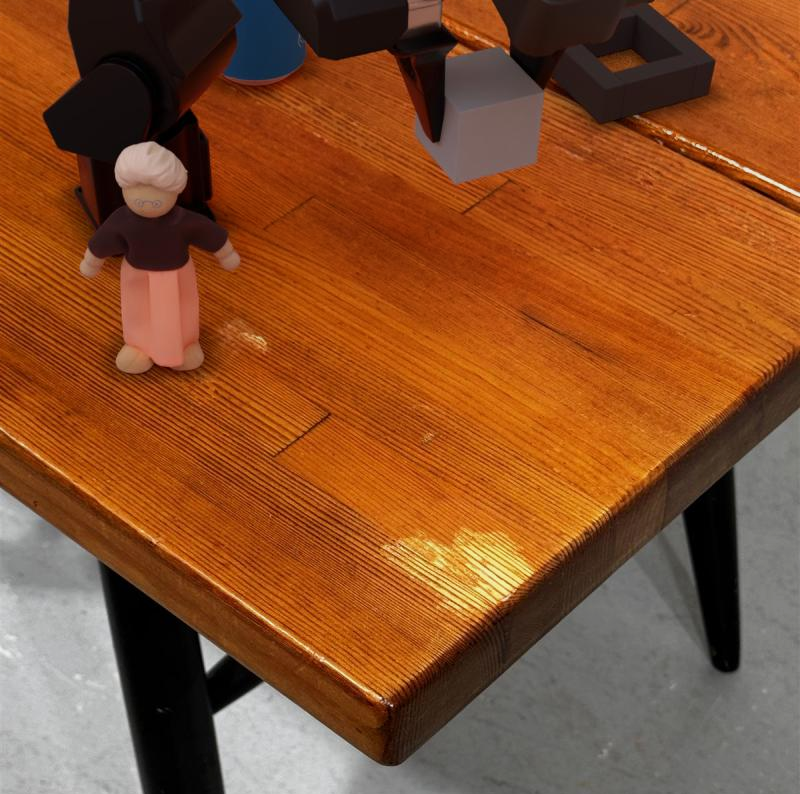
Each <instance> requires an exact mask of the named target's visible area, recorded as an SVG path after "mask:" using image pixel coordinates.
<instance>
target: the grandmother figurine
mask: <svg viewBox="0 0 800 794" xmlns="http://www.w3.org/2000/svg"><path fill="white" fill-rule="evenodd" d="M187 173H188V171H187V170H186V169H185V168H184V166H183V164H182V163H181V161H180V160H179V159H178V158H177V157H176V156H175V155H174V154H173V153H172V152H171V151H169V150H167V149H165V148H164V147H161V146H160V145H158V144H157V143H156V142H146V143H140V144H137V145H132V146H129V147H127V148H125V149H124V150H123V151H122V153H121V154H120V156H119V157H118V159H117V162H116V166H115V177H116V181H117V182H118V184H119V186H120V187H122V191H123V196H124V199H125V202H126V203H127V205H124V206H122V207H120V208H118V209H116V210H115V211H114V212H113V213H112V214H111V215H110V216H109V217H108V219H107V220H106V221H105V222H104V223H103V224H102V225H101V226H100V227H99V229H98V230H97V231H96V232H95V231H94V234H93V235H92V236H91V237H90V238H89V239H88V243H87V248H86V250H85V252H84V254H83V255H84V257H83V259H82V260H81V262H80V263H79V272H80V273H81V275H82V276H83V277H85V278H88V279H94V278H96V277H98V276H99V275H100V273H101V271H102V266H103V265H104V264H105V262H106V259H107V258H109V257H111V256H117V255H116V254H120V255H122V254H121V253H123V258H122V261H121V264H120V274H119V275H120V279H119V281H120V285H119V287H120V288H119V289H120V306H121V307H120V308H121V324H122V334H123V335H122V336H123V341H124V345H123V346H122V348H121V349H120V350H119V352H118V354H117V355H116V358H115V365H116V367H117V368H118V370H119V371H121V372H123V373H127V374H137V375H138V374H142V373H145V372H147V371H149V370H150V369H151V368H152V367H153V366H154V364H156V365H158V366H159V367H166V368H170V369H172V370H173V371H179V372H180V371H181V372H182V371H192V370H195V369H198V368H200V366H202V365H203V363H204V362H205V355H204V352H203V349H202V347H201V345H200V341H199V339H200V300H199V299H200V298H199V297H200V296H199V290H198V281H197V275H196V274H197V273H196V268H195V264H194V261H193V258H192V256H191V253H190V252H189V247H190V246H193V247H195V248H197V249H200V250H202V251H204V252H207V253H210V254H212V255H213V256H214V257H215V258H216V259H218V263H219V265H220V267H221V268H222V269H223V270H224V271H225V270H226V271H227V272H232V271H236V270H237V269H238V268H239V267H240V265H241V257H240V254H239V253H238V252H237V251H236V250H234V247H233V244H232V243H231V241H230V239H229V231H228V230H227V229H226V228H224V227H223V226H221V225H220V224H218V223H217V224H216V223H215V222H213V221H212V220H210V219H209V218H207V217H205V216H204V215H201V214H199V213H196V212H193V211H190V210H187V209H184V208H182V207H180V206H178V205H175V202H176V200H177V196H178V194H179V193H181V192H182V190H183V189H184V188H185V186H186V183H187Z"/></svg>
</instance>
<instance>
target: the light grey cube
mask: <svg viewBox="0 0 800 794" xmlns="http://www.w3.org/2000/svg"><path fill="white" fill-rule="evenodd" d="M545 94H546V93H545V90H544V91H543V90H542V89H541V88H540V87H539V86H538V85H537V84H536V83H535V82H534V81H533V80H532V79H531V78H530V77H529V75H528V74H527V73H526V72H525V71H524V70H523V69H522V68H521V67H520V66H519V65H518V64H517V63H516V62H515V61H514V60H513V59H512V58H511V57H510V54H508V53H507V51H505V49H504V48H503V47H502V46H501V45H498V46H493V47H488V48H484V49H481V50H476V51H472V52H467V53H462V54H458V55H453V56H450V57H446V63H445V114H444V121H443V126H442V132H441V138H440V142H437V143H432V142H431V141H430V140H429V138H428V137H427V136H426V135H425V133H424V131H423V128H422V126H421V123H420V121H419V118H418V116H417V113H416V111H415V117H414V137H415V138H416V139H417V141H418V142H419V144H420V145H422V147H423V148H424V149H425V150H426V152H427V153H428V154H429V155H430V156H431V158H432V159H433V160H434V161H435V163H437V165H438V166H439V167H440V169H441V170H442V171H443V172H444V173H445V175H446V176H447V177H448V179H450V181H451V182H452V184H453V185H459V184H463V183H467V182H471V181H474V180H479V179H482V178H486V177H489V176H494V175H497V174H501V173H505V172H510V171H513V170H517V169H521V168H524V167H529V166H532V165H536V164H537V163H538V155H539V154H538V153H539V145H540V136H541V128H542V119H543V112H544V111H543V110H544V102H545Z"/></svg>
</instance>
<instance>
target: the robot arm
mask: <svg viewBox="0 0 800 794" xmlns="http://www.w3.org/2000/svg"><path fill="white" fill-rule="evenodd" d="M67 1H68V2H67V25H66V26H67V28H66V29H67V33H68V37H69V41H70V45H71V48H72V53H73V56H74V60H75V64H76V67H77V72H78V75H79V78H78V79H76V81H74V82H73V83H72V85H70V87H68V88H67V89H66V90H65V91H64V92H63V93H62V94H61V95H60V96H59V97H58V98H57V99H56V100H55V101H53V103H52V104H51V105H50V106H48V107H47V108H46V109H45V110H44V111H43V112H42V119H43V121H44V123H45V125H46V127H47V130H48V132H49V134H50V136H51V138H52V140H53V142H54V144H55V146H56V148H58V150H60V151H64V152H68V153H71V154H75V155H76V160H77V162H76V163H77V169H78V174H79V175H78V176H79V183H80V184H79V185H78V186H76V187H75V188H74V189H73V193H74V198H75V200H76V202H77V204H78V206H79V207H80V209H81V210H82V212H83V214H84V216H85V217H86V219H87V221H88V223H89V224H90V226H91V228H92V229H93V231H94V233H95V232H96V231H97V230H98V229H99V227H100V226H101V225H102V224H103V223H104V222H105V221H106V220H107V219H108V217H109V216H110V215H111V214H112V213H113V212H114V211H115V210H116V209H118V208H120V207H122V206H124V205H127V203H126V202H125V199H124V196H123V191H122V187H120V186H119V184H118V182H117V181H116V177H115V166H116V162H117V159H118V157H119V156H120V154H121V153H122V151H123V150H124V149H125V148H127V147H129V146H132V145H137V144H140V143H146V142H156V143H157V144H158V145H160V146H161V147H164V148H165V149H167V150H169V151H171V152H172V153H173V154H174V155H175V156H176V157H177V158H178V159H179V160H180V161H181V163H182V164H183V166H184V168H185V169H186V170H187V171H188V173H187V183H186V186H185V188H184V189H183V190H182V192H181V193H179V194H178V196H177V200H176V202H175V205H178V206H180V207H182V208H184V209H187V210H190V211H193V212H196V213H199V214H201V215H204V216H205V217H207V218H209V219H210V220H212V221H213V222H215V223H216V224H218V221H217V219H218V218H217V216H216V214H215V213H214V211H213V210H212V208H211V207H210V205H209V204H208V203H207V202H209V201H211V200H212V199H213V197H214V190H213V177H212V165H211V152H210V140H209V138H208V137H207V135H206V134H205V132H204V131H203V130H202V128H201V126H199V119H198V117H197V115H196V114H195V113H194V112H193V110H192V109H191V107H192V106H193V105H194V104H195V103H196V102H197V101H198V100H199V99H200V98H201V97H202V95H203V94H205V92H207V90H208V89H209V88H210V87H211V86H212V85H213V84H214V82H215V81H216V80H217V79H219V77H220V76H222V73H223V71H224V70H225V69H226V68H227V67H228V65H229V63H230V61H231V59H232V57H233V55H234V52H235V51H236V50H237V34H236V28H235V25H236V24H237V23H238V22H239V21H240V20H241V19H242V17H243V15H242V13H241V12H240V11H239V9H238V8H237V6H236V5H235V4H234V2H233V1H232V0H67ZM273 1H274V2H275V4H276V5H277V6H278V7H279V9H280V10H281V11H282V12H283V14H284V15H285V16H286V17H287V19H288V20H289V21H290V22H291V24H292V25H293V26H294V27H295V29H296V30H297V31H298V32H299V34H300V35H301V36H302V37H303V38H304V40H305V41H306V44H307V45H308V46H309V47H310V49H311V50H312V52H313V53H315V55H316V56H317V57H318V58H320V59H326V60H331V61H335V62H337V61H343V60H346V59H347V60H348V59H350V58H355V57H360V56H364V55H368V54H369V55H370V54H373V53H378V52H382V51H387V52H388V53H389V54H390V55H392V56H393V57H394V59H395V62H396V65H397V66H398V69H399V72H400V75H401V77H402V80H403V82H404V84H405V88H406V90H407V92H408V95H409V97H410V100H411V103H412V105H413V108H414V110H415V112H416V113H417V116H418V118H419V121H420V123H421V126H422V128H423V131H424V133H425V135H426V136H427V137H428V138H429V140H430V141H431V142H432V143H437V142H440V138H441V132H442V126H443V121H444V114H445V63H446V58H447V56H448V55H449V54H450V52H452V51H453V49H454V48H456V47H457V46H458V44H459V39H458V38H457V37H456V36H455V35H454V33H452V31H450V29H449V28H448V27H447V26H446V25H445V24H444V23H443V22H442V21H443V20H442V18H443V2H444V1H445V0H273ZM655 1H656V0H491V2H492V3H493V4H492V5H494V7H495V9H496V11H497V12H498V15H499V16H500V18H501V20H502V21H503V24H504V25H505V28H506V32H507V36H508V38H509V56H510V57H511V58H512V59H513V60H514V61H515V62H516V63H517V64H518V65H519V66H520V67H521V68H522V69H523V70H524V71H525V72H526V73H527V74H528V75H529V77H530V78H531V79H532V80H533V81H534V82H535V83H536V84H537V85H538V86H539V87H540V88H541V89H542V90H543V91H544V92H545V89H546V88H547V85H548V83H549V82H550V80H551V78H552V77H551V76H552V74H553V72H554V70H555V68H556V67H557V64H558V63H559V61H560V59H561V57H562V56H563V54H564V52H565V50H566V49H567V48H568V47H572V46H576V45H581V44H585V43H592V44H598V43H602V42H605V41H607V40H608V39H610V38H611V37H612V35H613V33H614V31H615V29H616V26H617V24H618V22H619V20H620V17H621V15H622V13H623V11H624V9H626V8H631V7H635V6H639V5H644V4H653V3H654V2H655ZM120 255H124V253H121V254H116V255H115V256H120Z"/></svg>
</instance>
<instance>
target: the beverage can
mask: <svg viewBox="0 0 800 794" xmlns="http://www.w3.org/2000/svg"><path fill="white" fill-rule="evenodd" d="M232 1H233V2H234V4H235V5H236V6H237V8H238V9H239V11H240V12H241V13H242V15H243V17H242V19H241V20H240V21H239V22H238V23H237V24H236V25H235V28H236V34H237V50H236V51H235V52H234V55H233V57H232V59H231V61H230V63H229V65H228V67H227V68H226V69H225V70H224V71H223V73H222V74H221V76H223V77H225V78H226V79H228V80H229V81H231V82H234V83H237V84H240V85H244V86H245V85H246V86H266V85H272V84H275V83H278V82H281V81H283V80H285V79H286V78H288V77H289V76H290V75H291V74H293V73H295V72H296V71H298V70H299V68H301V67H302V65H303V64H304V63H305V61H306V58H307V42H306V41H305V40H304V38H303V37H302V36H301V35H300V34H299V32H298V31H297V30H296V29H295V27H294V26H293V25H292V24H291V22H290V21H289V20H288V19H287V17H286V16H285V15H284V14H283V12H282V11H281V10H280V9H279V7H278V6H277V5H276V4H275V2H274V1H273V0H232Z"/></svg>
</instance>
